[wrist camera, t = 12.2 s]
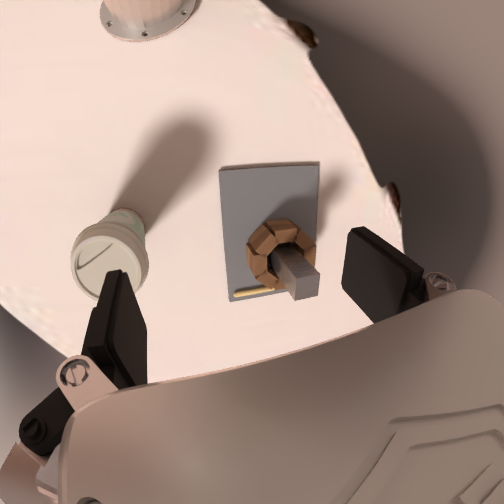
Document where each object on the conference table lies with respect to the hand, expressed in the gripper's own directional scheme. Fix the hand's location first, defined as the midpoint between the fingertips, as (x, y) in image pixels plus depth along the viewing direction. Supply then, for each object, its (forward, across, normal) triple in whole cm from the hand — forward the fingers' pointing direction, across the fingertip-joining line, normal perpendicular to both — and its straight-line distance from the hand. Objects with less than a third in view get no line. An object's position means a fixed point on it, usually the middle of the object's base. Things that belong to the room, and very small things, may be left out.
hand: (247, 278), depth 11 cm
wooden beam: (+25, -10, +13) cm, 30 cm away
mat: (+25, -10, +11) cm, 29 cm away
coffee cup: (+26, +10, +7) cm, 29 cm away
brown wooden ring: (+25, -10, +13) cm, 30 cm away
